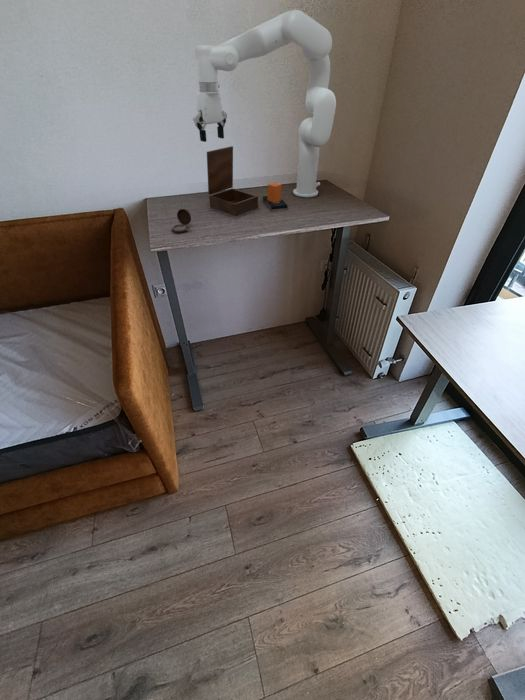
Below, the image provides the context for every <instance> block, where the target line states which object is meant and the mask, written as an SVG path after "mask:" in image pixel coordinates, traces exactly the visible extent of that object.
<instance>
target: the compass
mask: <svg viewBox="0 0 525 700" xmlns="http://www.w3.org/2000/svg"><path fill="white" fill-rule="evenodd" d="M176 216H177V220H178V222H179V223H180V224H175V225H174V226H172V228H171V231H172V232H173V233H175V234H184V233H186V232H190V231H191V230H192V229H190V228H189V227H188V225H189V224H190V223H191V222H192V216H191V213H190V212H189V210H188V209H186V208H180V209H179V210H178V211H177V213H176Z"/></svg>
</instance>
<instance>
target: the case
mask: <svg viewBox="0 0 525 700" xmlns="http://www.w3.org/2000/svg"><path fill="white" fill-rule="evenodd" d="M208 198H209V208H211V209H213V210H217V211H219V212H222V213H224V214H228V215H230V216H232V217H238V216H240V215H244V214H246V213H249V212H250V211H254V210H256V209H258V208H259V196H258V195H256V194H253V193H249V192H246V191H243V190H239V189H236V188H234V187H233V188H229V189H226V190H223V191H220V192H217V193H214V194H211V195H208Z"/></svg>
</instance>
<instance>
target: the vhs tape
mask: <svg viewBox="0 0 525 700" xmlns="http://www.w3.org/2000/svg"><path fill="white" fill-rule="evenodd" d="M262 200H263V201H264V203H265V204H267V206H268V207H269V209H270V210H281V209H288V204H287V203H286V202H285V201H284V199H282V198H281V201H278V202H276V203H274V202H270V201H268V195H263V196H262Z"/></svg>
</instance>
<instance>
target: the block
mask: <svg viewBox="0 0 525 700" xmlns="http://www.w3.org/2000/svg"><path fill="white" fill-rule="evenodd" d="M282 186H283V185H282V183H278V182H270V183H269V184H267V196H268V201H270V202H274V203H276V202H278V201H281V199H282V188H283V187H282Z"/></svg>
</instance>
